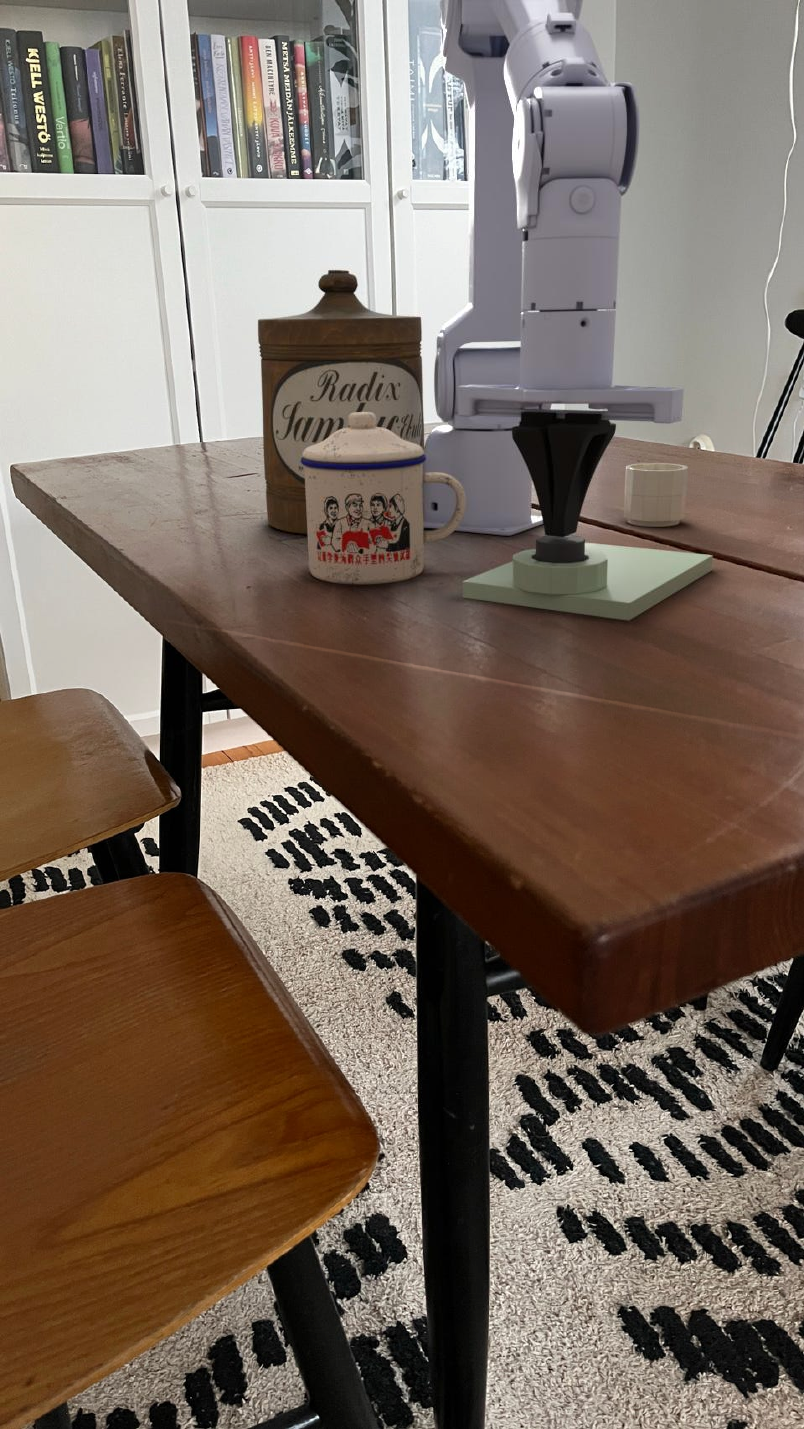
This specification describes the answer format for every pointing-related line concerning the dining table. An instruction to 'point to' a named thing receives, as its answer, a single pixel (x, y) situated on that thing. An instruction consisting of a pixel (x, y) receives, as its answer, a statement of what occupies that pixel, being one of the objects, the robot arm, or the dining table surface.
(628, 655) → the dining table surface
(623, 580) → the scale
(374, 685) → the dining table surface
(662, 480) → the cup
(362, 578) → the teacup with lid
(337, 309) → the wooden container
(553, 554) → the button
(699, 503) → the dining table surface
